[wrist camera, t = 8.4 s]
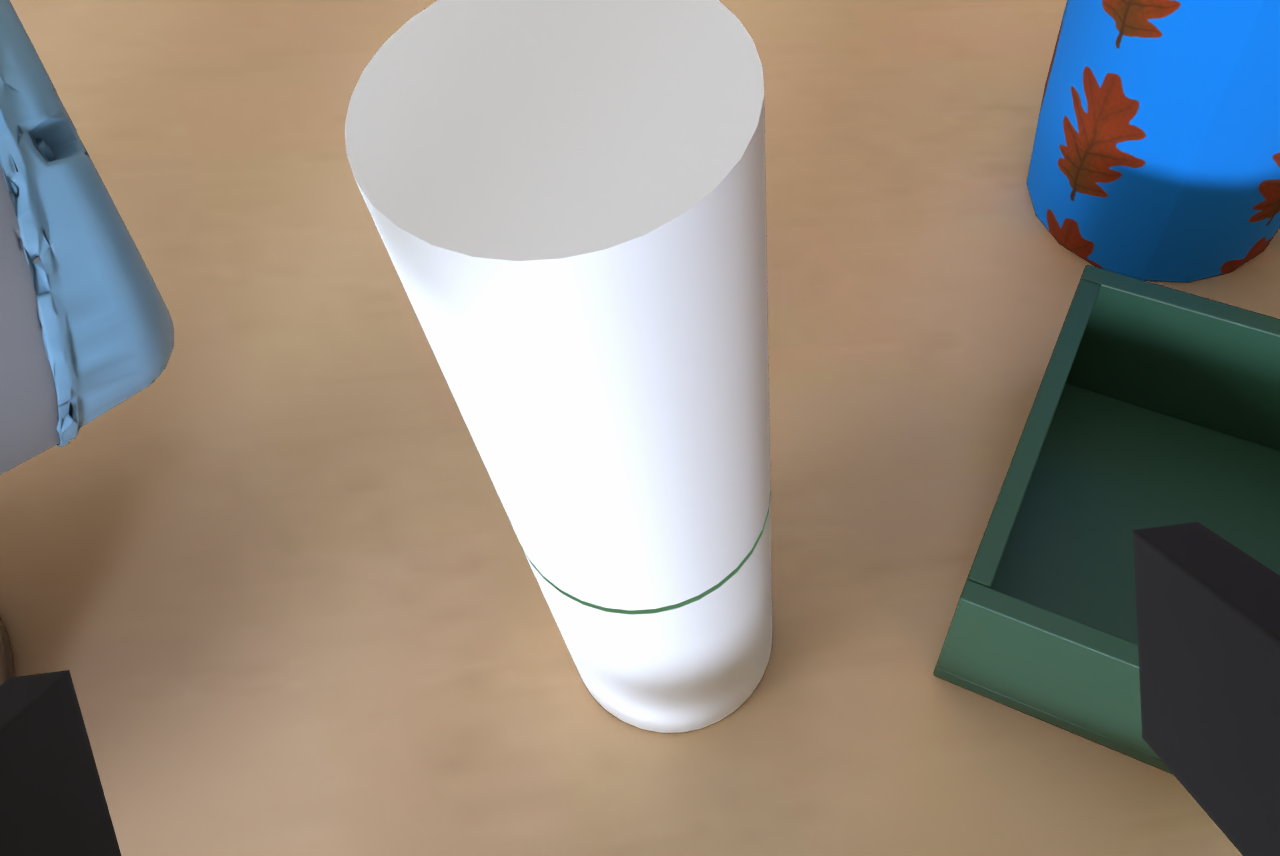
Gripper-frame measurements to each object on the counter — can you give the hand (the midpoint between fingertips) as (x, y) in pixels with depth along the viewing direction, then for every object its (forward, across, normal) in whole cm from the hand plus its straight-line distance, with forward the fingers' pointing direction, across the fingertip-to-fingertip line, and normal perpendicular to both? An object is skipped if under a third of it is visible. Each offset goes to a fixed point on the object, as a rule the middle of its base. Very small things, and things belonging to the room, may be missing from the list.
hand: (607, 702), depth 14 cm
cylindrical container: (+25, 0, -10) cm, 27 cm away
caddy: (+24, +18, -10) cm, 32 cm away
